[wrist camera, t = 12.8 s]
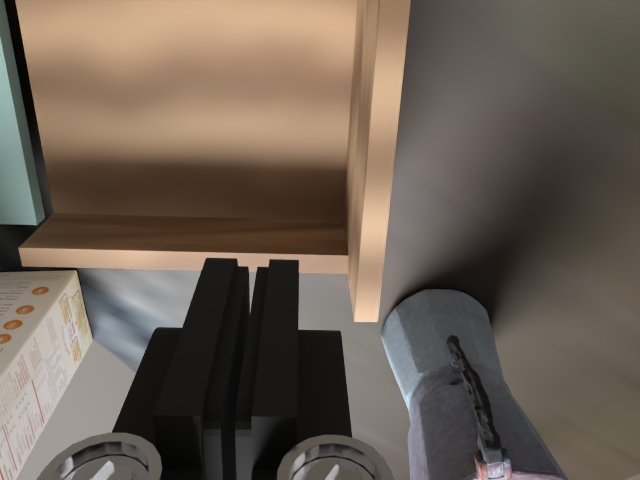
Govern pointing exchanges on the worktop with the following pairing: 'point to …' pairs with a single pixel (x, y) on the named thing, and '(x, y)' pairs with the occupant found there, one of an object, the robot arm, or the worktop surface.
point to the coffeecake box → (36, 355)
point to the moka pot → (459, 394)
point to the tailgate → (15, 143)
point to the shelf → (217, 133)
